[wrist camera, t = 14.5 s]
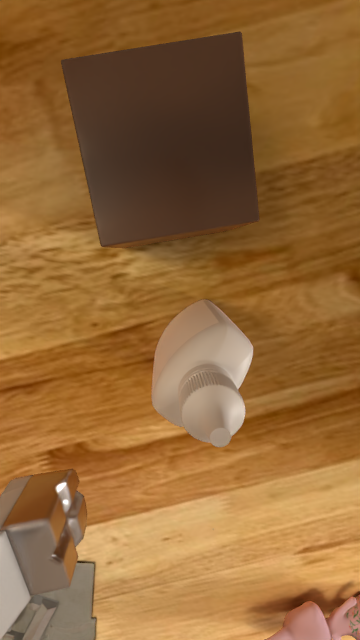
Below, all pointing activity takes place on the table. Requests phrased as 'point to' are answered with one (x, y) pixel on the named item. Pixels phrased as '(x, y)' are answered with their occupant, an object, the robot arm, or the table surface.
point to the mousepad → (59, 612)
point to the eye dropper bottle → (202, 373)
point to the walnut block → (165, 139)
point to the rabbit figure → (321, 622)
